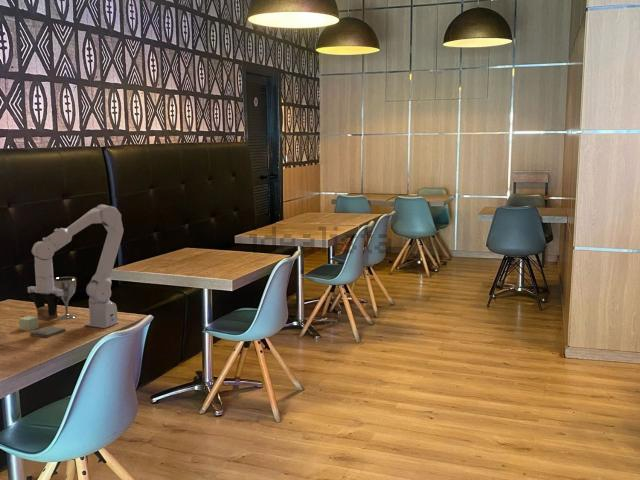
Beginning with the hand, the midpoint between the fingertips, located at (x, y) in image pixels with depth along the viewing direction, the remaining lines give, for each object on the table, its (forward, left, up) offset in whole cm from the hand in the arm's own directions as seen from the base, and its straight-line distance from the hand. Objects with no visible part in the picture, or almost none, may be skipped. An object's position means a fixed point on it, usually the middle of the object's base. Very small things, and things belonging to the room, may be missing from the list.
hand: (46, 314), depth 220 cm
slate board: (0, 0, -7) cm, 7 cm away
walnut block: (0, 0, -2) cm, 2 cm away
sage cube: (+11, -2, -7) cm, 13 cm away
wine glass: (+10, -19, -7) cm, 23 cm away
